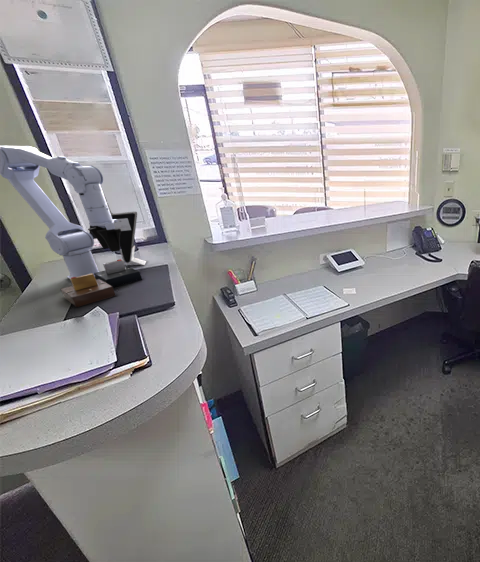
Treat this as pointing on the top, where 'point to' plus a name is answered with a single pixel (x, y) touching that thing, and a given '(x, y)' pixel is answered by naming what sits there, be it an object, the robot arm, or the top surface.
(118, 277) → the back plate
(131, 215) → the award
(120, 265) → the block
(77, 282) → the block
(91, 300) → the brown wooden base
